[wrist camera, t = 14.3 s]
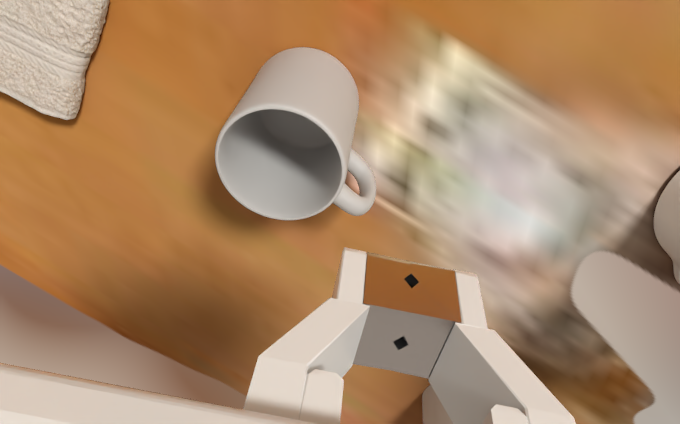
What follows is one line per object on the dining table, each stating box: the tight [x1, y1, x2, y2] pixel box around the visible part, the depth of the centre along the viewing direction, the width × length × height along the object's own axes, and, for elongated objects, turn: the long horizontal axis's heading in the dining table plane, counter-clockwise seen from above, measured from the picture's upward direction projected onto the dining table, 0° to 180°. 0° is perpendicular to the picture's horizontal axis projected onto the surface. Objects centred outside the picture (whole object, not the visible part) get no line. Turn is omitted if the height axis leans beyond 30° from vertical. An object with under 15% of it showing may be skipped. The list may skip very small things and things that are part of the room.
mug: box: [215, 47, 376, 220], centre depth 36 cm, size 12×8×11 cm
